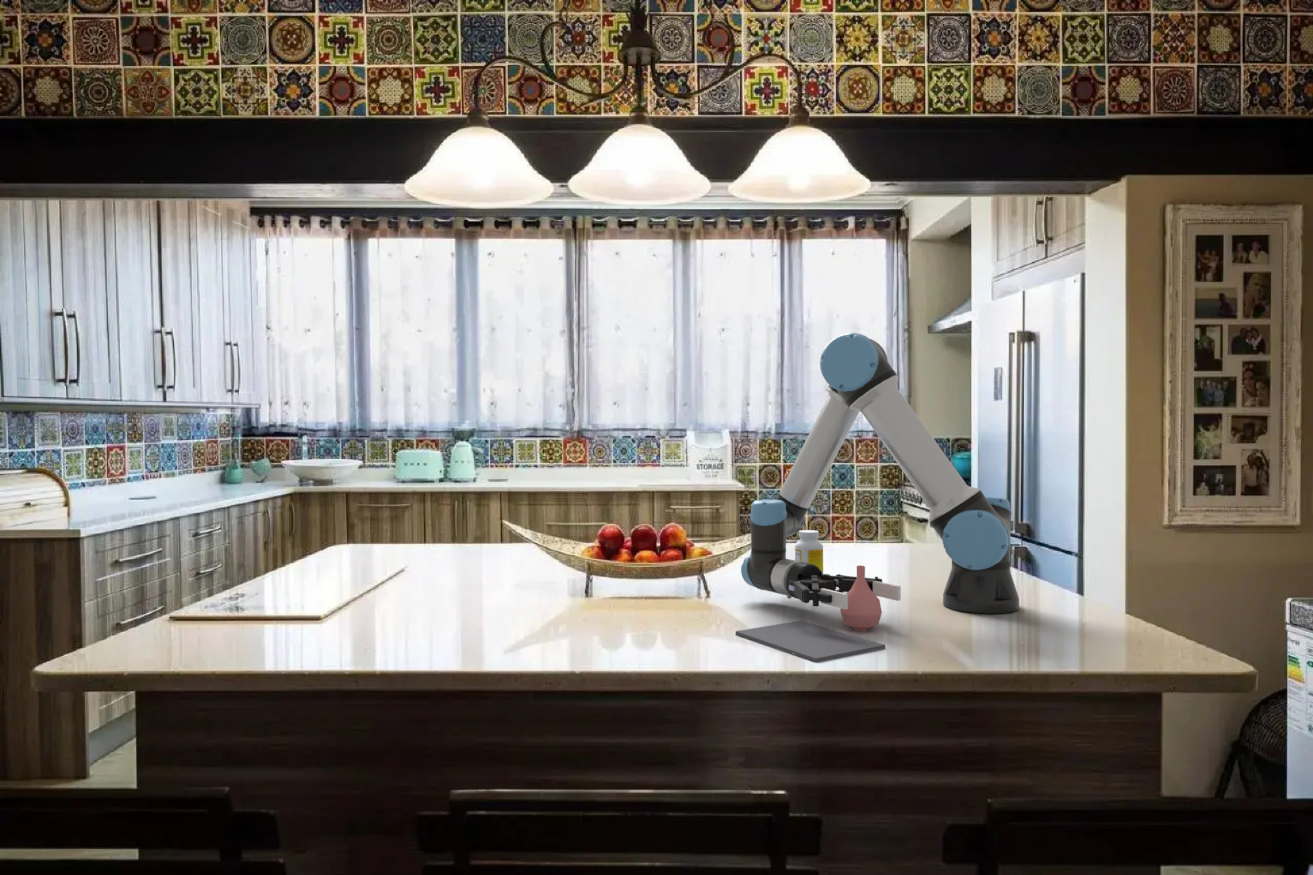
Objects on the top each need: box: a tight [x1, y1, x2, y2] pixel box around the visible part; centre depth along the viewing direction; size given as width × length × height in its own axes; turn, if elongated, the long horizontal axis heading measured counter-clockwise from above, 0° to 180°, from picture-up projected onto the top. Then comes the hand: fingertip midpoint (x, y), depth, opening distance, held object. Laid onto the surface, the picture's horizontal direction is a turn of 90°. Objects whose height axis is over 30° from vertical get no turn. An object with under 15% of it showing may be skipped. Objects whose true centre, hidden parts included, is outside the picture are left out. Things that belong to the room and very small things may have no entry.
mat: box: [735, 619, 886, 663], centre depth 161 cm, size 16×22×1 cm
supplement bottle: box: [794, 529, 824, 574], centre depth 213 cm, size 7×7×13 cm
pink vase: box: [839, 565, 882, 632], centre depth 169 cm, size 8×8×12 cm
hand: (873, 597), depth 166 cm, fingers open, 13 cm apart
